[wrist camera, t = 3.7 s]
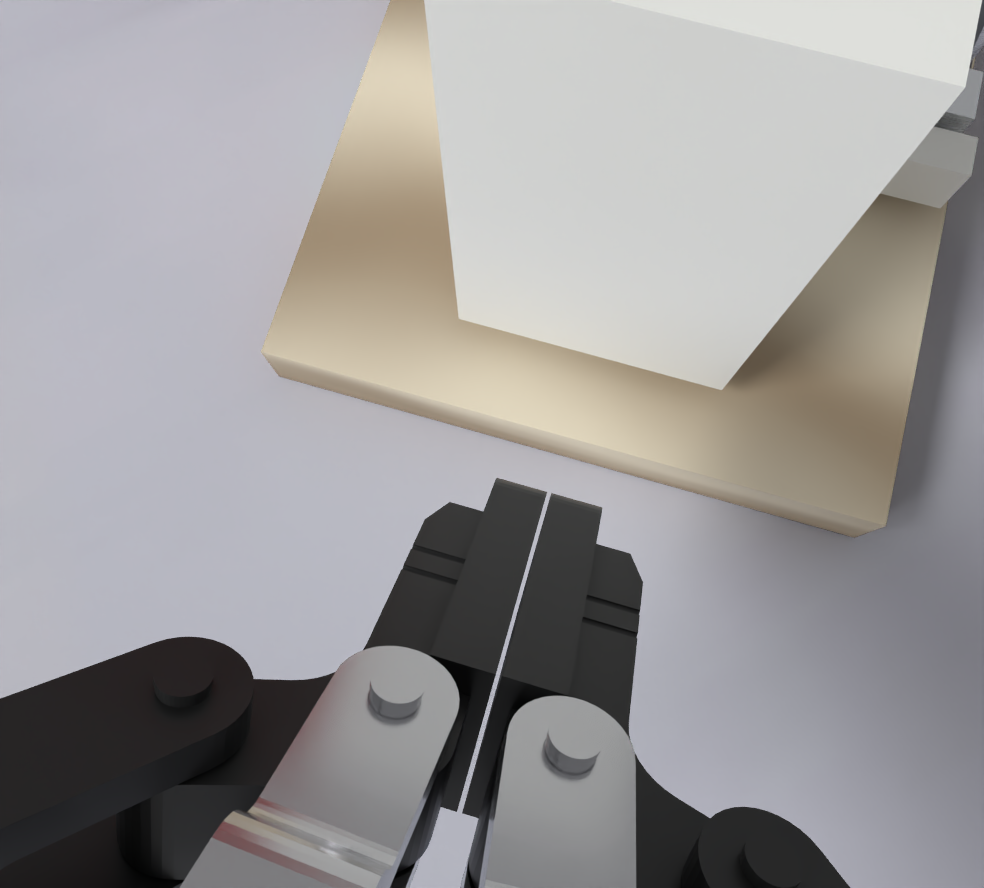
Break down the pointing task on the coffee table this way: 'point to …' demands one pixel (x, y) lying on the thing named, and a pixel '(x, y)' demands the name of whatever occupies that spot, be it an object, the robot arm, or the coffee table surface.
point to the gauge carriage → (681, 159)
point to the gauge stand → (587, 378)
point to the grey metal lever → (965, 98)
